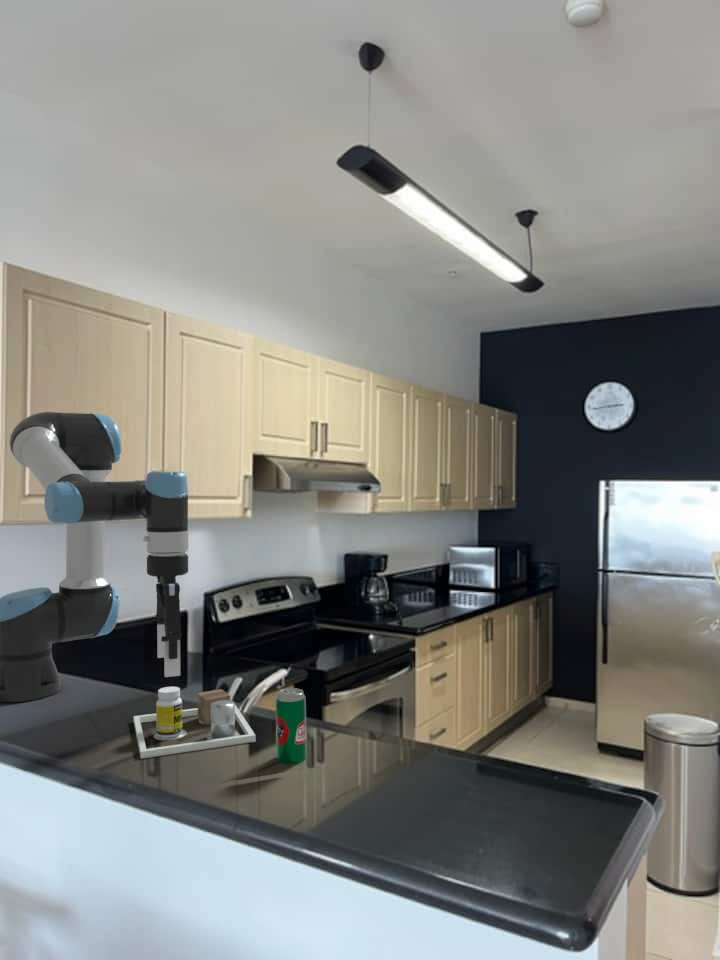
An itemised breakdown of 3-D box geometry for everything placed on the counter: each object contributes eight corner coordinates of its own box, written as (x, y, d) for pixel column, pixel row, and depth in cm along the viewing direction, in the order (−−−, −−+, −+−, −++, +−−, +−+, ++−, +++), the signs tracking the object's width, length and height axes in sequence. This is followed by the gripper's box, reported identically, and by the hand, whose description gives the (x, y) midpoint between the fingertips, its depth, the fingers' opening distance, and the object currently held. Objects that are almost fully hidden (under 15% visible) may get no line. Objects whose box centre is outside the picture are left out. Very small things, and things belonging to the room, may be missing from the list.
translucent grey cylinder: (209, 733, 134) (208, 701, 134) (232, 730, 135) (232, 698, 135) (213, 741, 129) (212, 708, 129) (237, 738, 131) (236, 705, 131)
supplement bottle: (177, 739, 131) (176, 693, 131) (152, 738, 132) (151, 693, 132) (186, 729, 136) (185, 685, 136) (162, 729, 136) (161, 685, 136)
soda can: (301, 768, 119) (300, 696, 119) (272, 766, 120) (271, 695, 120) (310, 757, 123) (309, 688, 123) (282, 755, 125) (281, 686, 124)
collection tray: (133, 725, 141) (133, 716, 141) (234, 712, 148) (234, 703, 148) (140, 762, 122) (140, 751, 122) (255, 745, 129) (255, 735, 129)
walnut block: (197, 718, 143) (197, 693, 142) (221, 713, 145) (221, 689, 145) (206, 725, 138) (205, 699, 138) (230, 720, 141) (230, 695, 141)
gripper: (141, 547, 144) (142, 651, 144) (152, 562, 121) (153, 687, 121) (180, 545, 147) (180, 648, 147) (197, 560, 123) (198, 682, 124)
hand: (168, 666), depth 134 cm, fingers open, 13 cm apart
